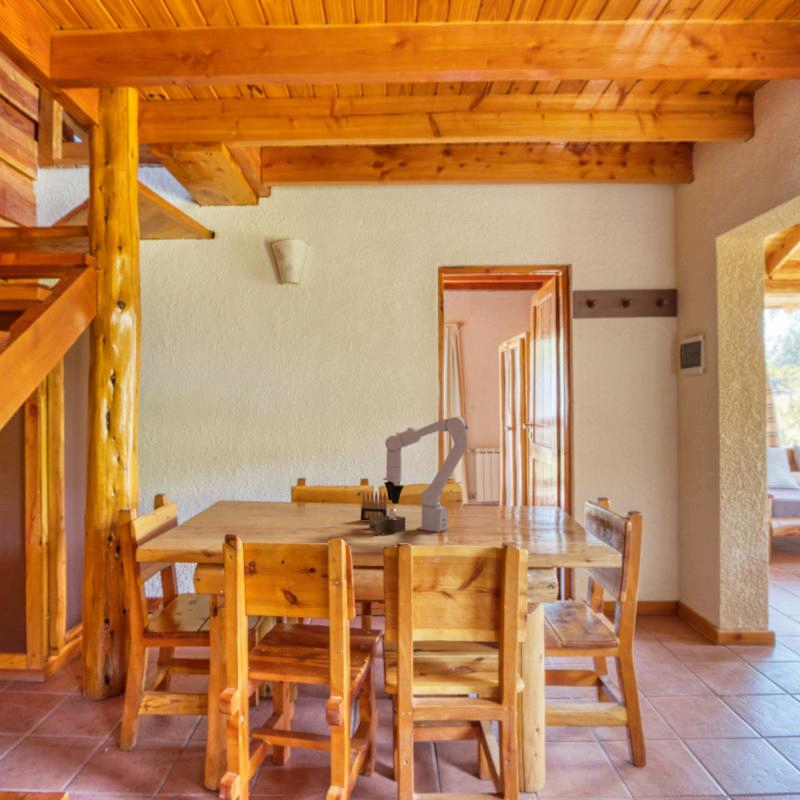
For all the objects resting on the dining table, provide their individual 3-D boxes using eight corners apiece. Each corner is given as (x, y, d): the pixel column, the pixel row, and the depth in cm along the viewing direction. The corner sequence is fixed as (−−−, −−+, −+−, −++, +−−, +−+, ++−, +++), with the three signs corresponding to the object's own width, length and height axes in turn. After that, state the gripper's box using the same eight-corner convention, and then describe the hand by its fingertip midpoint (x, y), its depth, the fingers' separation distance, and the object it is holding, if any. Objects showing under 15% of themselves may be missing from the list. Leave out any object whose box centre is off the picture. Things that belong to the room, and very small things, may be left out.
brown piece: (405, 530, 226) (405, 517, 226) (383, 537, 214) (384, 523, 214) (375, 525, 233) (375, 513, 233) (353, 532, 222) (353, 518, 222)
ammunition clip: (360, 520, 243) (360, 491, 243) (361, 520, 245) (362, 490, 245) (386, 522, 241) (386, 492, 241) (387, 521, 243) (387, 491, 243)
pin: (397, 530, 225) (397, 509, 225) (393, 532, 223) (393, 510, 223) (391, 529, 227) (391, 508, 227) (387, 531, 224) (387, 509, 224)
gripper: (380, 464, 239) (380, 499, 239) (387, 468, 225) (386, 505, 225) (398, 464, 241) (397, 498, 241) (405, 468, 227) (405, 504, 227)
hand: (393, 501), depth 233 cm, fingers open, 7 cm apart
